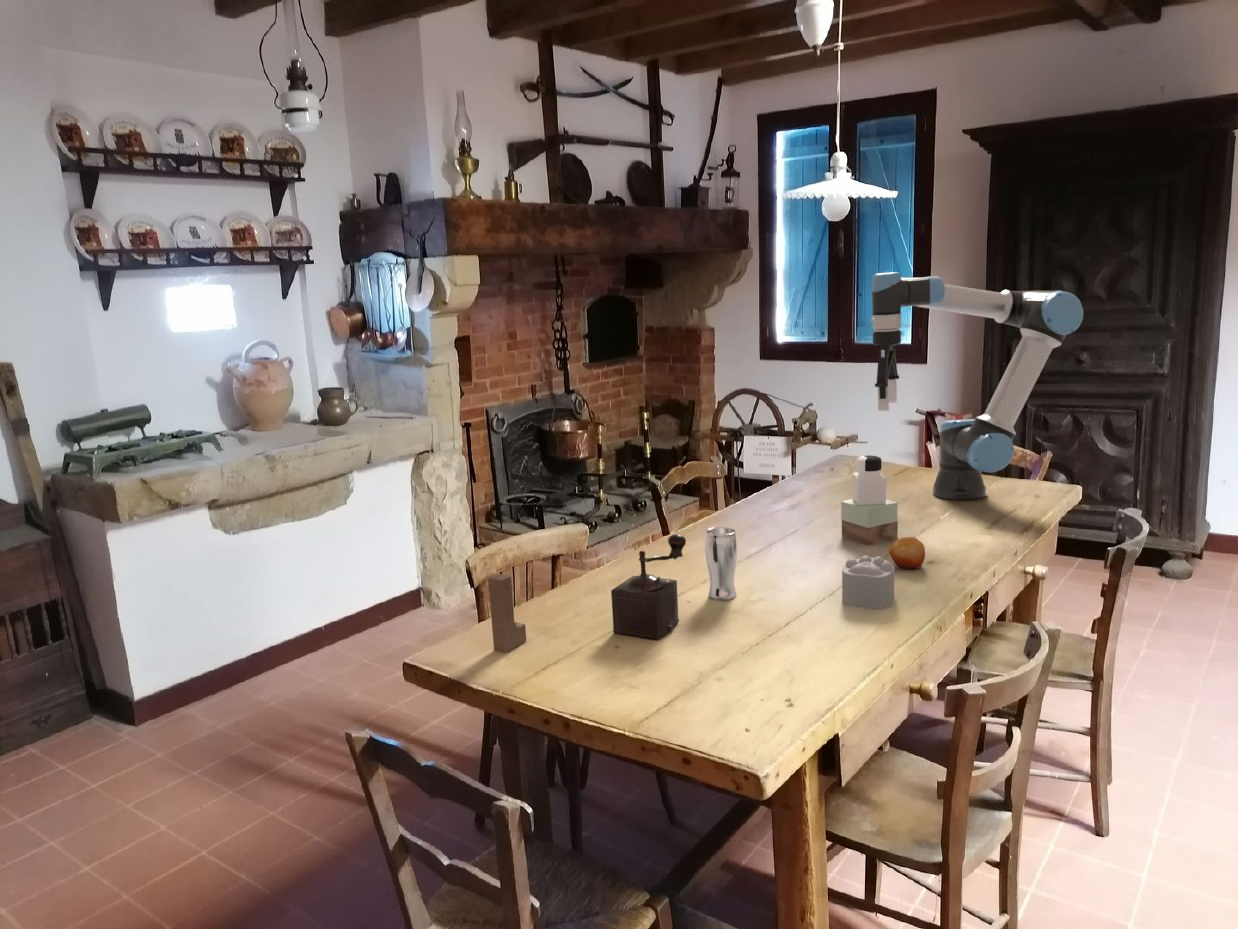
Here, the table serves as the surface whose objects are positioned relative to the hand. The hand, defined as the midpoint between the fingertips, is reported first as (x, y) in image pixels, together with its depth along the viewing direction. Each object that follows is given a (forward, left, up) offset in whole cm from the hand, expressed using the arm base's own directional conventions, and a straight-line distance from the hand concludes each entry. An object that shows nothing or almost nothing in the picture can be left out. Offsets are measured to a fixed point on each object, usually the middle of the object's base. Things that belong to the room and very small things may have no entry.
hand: (887, 406), depth 257 cm
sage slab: (+21, +15, -26) cm, 37 cm away
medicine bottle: (+21, +14, -21) cm, 33 cm away
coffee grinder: (+98, +32, -31) cm, 107 cm away
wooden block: (+127, +25, -31) cm, 133 cm away
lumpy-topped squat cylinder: (+52, +47, -31) cm, 77 cm away
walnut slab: (+21, +15, -31) cm, 40 cm away
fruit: (+31, +37, -31) cm, 57 cm away
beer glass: (+77, +27, -31) cm, 87 cm away
